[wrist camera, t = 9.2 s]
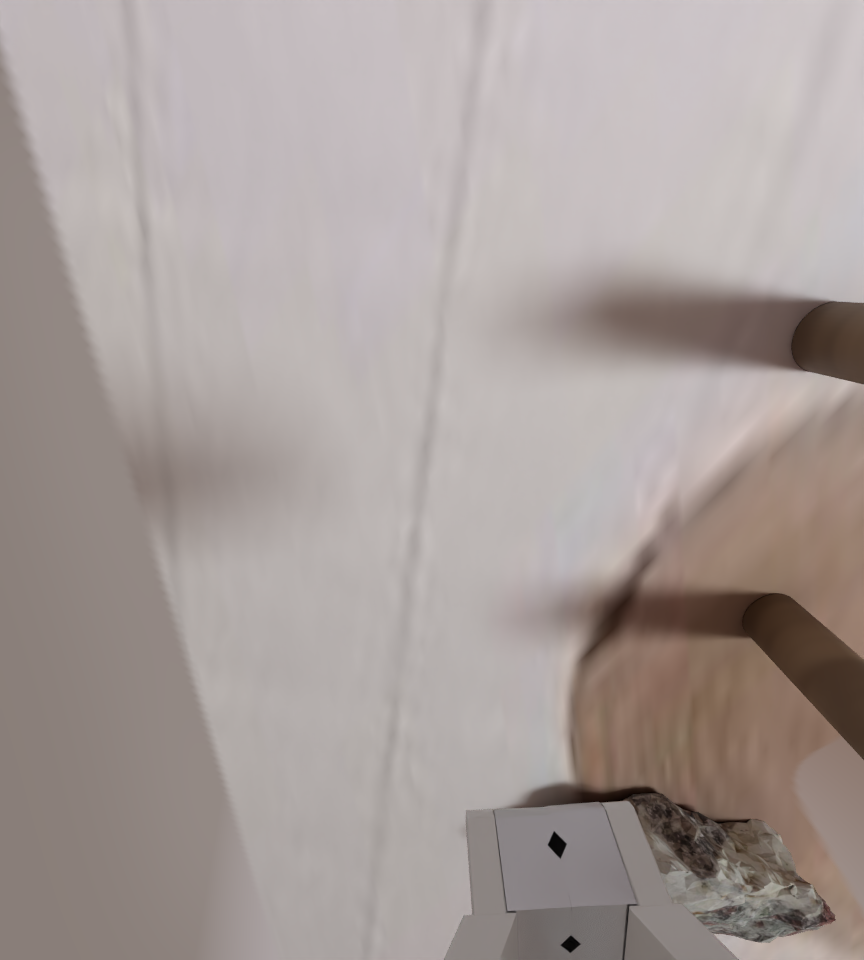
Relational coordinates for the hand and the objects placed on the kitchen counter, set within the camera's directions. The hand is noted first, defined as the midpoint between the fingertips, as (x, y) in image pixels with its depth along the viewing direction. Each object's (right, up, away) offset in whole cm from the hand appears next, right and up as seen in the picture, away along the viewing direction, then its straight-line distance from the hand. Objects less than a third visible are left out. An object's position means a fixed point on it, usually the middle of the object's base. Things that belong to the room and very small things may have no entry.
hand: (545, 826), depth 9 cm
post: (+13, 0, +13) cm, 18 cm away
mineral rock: (+10, -13, +19) cm, 25 cm away
